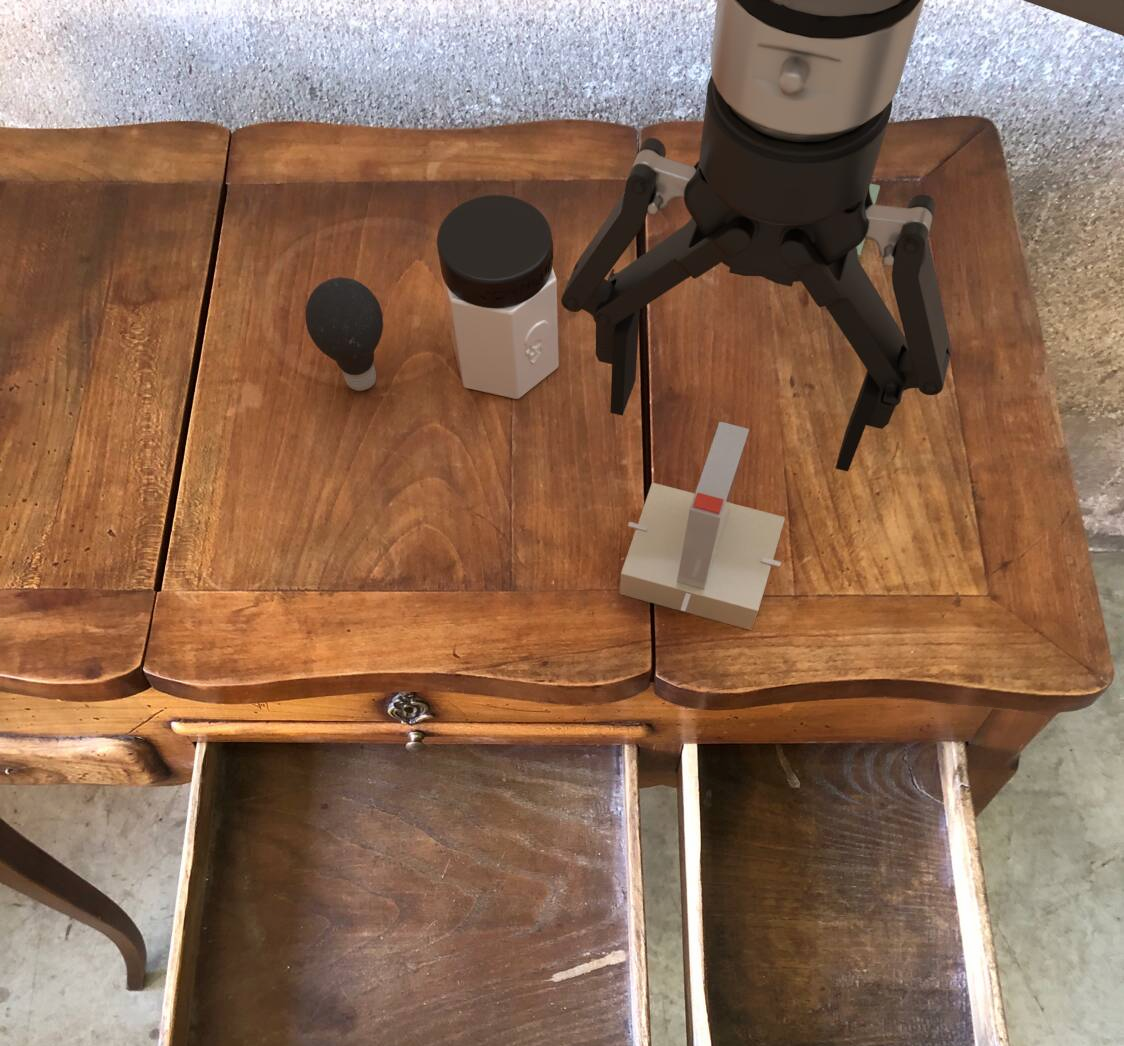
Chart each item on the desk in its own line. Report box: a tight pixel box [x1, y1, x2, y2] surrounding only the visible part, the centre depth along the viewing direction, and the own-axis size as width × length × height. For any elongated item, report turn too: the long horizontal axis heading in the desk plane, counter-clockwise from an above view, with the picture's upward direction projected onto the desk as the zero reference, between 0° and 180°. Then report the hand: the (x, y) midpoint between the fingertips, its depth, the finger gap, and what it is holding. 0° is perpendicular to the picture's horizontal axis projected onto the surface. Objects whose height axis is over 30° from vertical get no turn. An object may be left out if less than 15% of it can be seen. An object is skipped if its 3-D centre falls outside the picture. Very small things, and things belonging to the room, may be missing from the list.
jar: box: [436, 194, 560, 400], centre depth 79 cm, size 9×8×12 cm
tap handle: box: [677, 421, 750, 589], centre depth 70 cm, size 7×2×9 cm, turn 162°
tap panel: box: [618, 482, 786, 631], centre depth 76 cm, size 11×11×3 cm
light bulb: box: [304, 276, 384, 391], centre depth 79 cm, size 6×6×10 cm
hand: (733, 424), depth 62 cm, fingers open, 13 cm apart
